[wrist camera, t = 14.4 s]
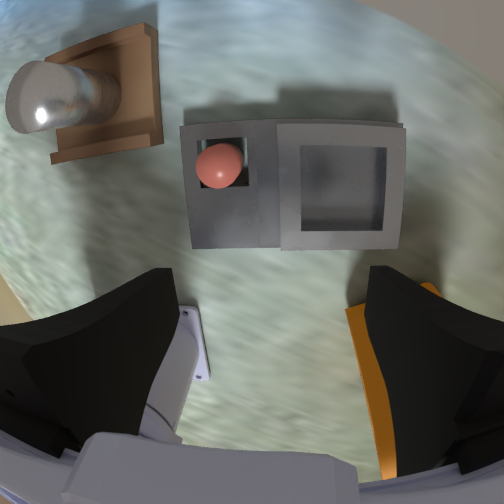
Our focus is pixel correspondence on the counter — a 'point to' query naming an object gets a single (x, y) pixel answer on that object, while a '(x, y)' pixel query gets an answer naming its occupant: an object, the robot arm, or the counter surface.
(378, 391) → the bracket
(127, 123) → the brown piece
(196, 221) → the socket block
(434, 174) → the counter surface
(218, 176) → the button
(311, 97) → the counter surface
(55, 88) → the steel round bar
